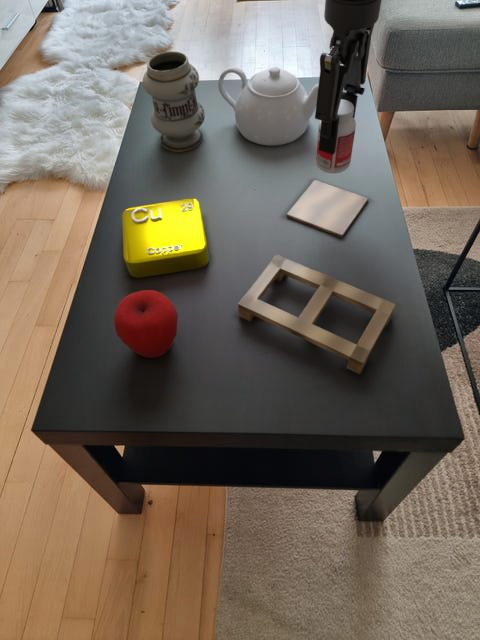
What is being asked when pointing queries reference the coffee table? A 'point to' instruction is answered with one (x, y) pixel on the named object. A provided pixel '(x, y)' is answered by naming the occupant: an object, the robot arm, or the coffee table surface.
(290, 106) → the teapot
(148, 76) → the apothecary jar
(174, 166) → the coffee table surface
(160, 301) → the apple
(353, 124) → the pill bottle
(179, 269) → the element tile
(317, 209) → the brown flat square
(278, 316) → the bottle rack
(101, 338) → the coffee table surface
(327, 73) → the robot arm
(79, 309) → the coffee table surface
